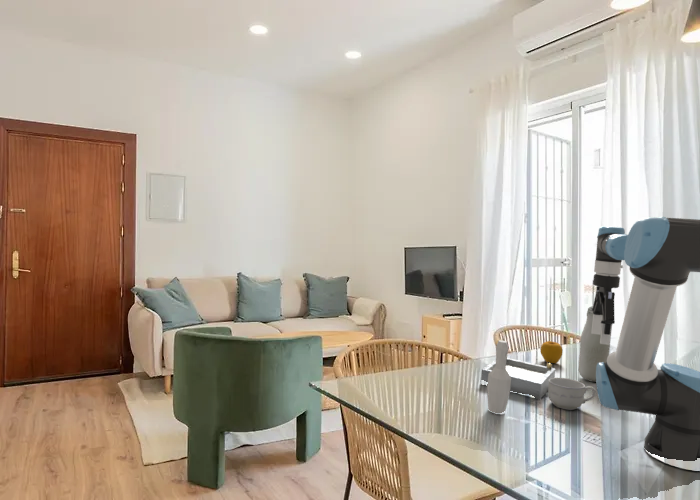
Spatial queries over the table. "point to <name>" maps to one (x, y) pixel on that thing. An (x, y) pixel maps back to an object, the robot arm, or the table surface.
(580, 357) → the grey bottle
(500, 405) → the low poly bottle
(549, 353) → the apple
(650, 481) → the table surface
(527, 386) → the grey serving tray
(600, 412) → the table surface
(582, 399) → the teacup
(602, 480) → the table surface
